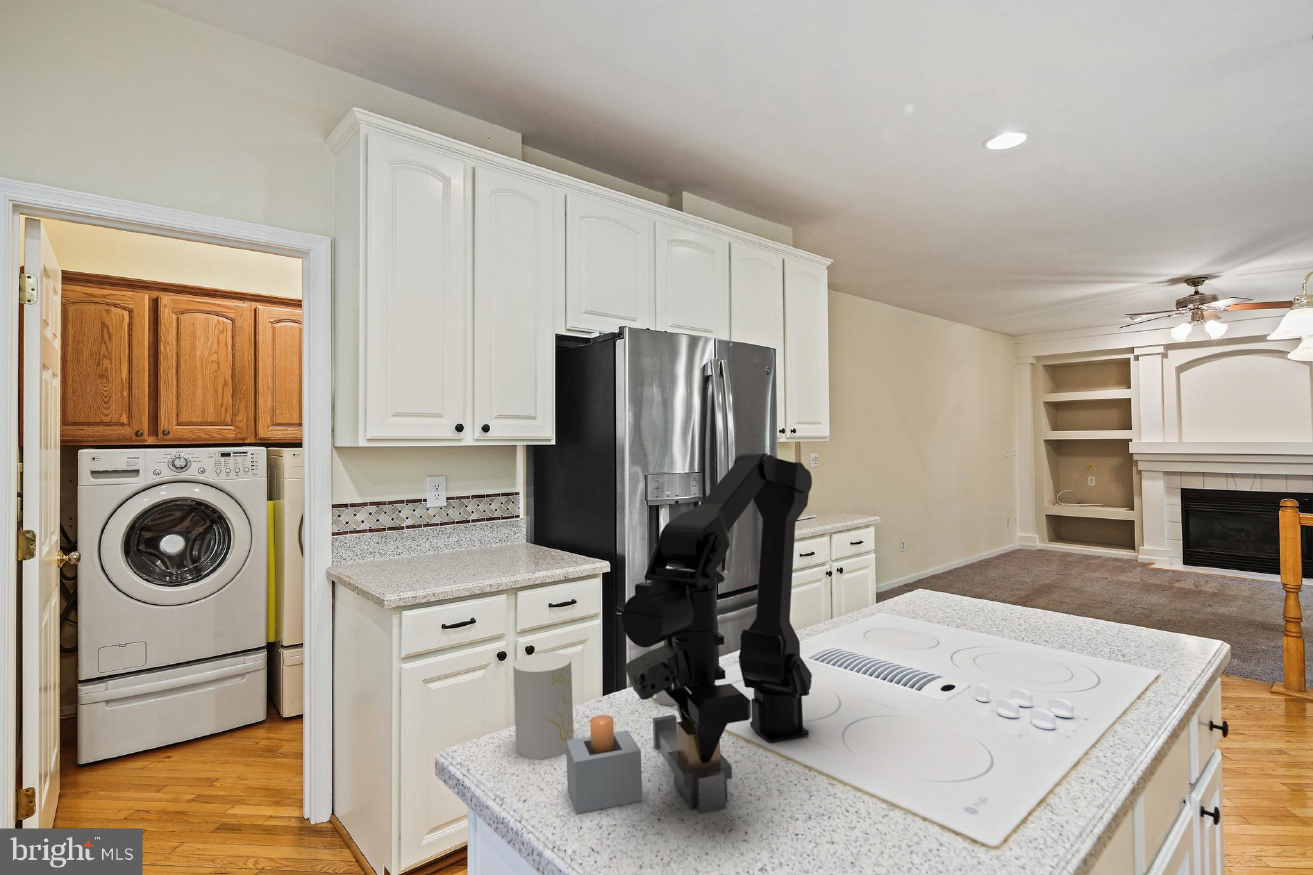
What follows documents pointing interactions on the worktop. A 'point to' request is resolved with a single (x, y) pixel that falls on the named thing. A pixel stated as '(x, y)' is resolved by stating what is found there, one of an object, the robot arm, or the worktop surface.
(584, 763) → the grey hollow block
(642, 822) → the worktop surface
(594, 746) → the button
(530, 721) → the cup
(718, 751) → the carriage
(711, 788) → the rail
